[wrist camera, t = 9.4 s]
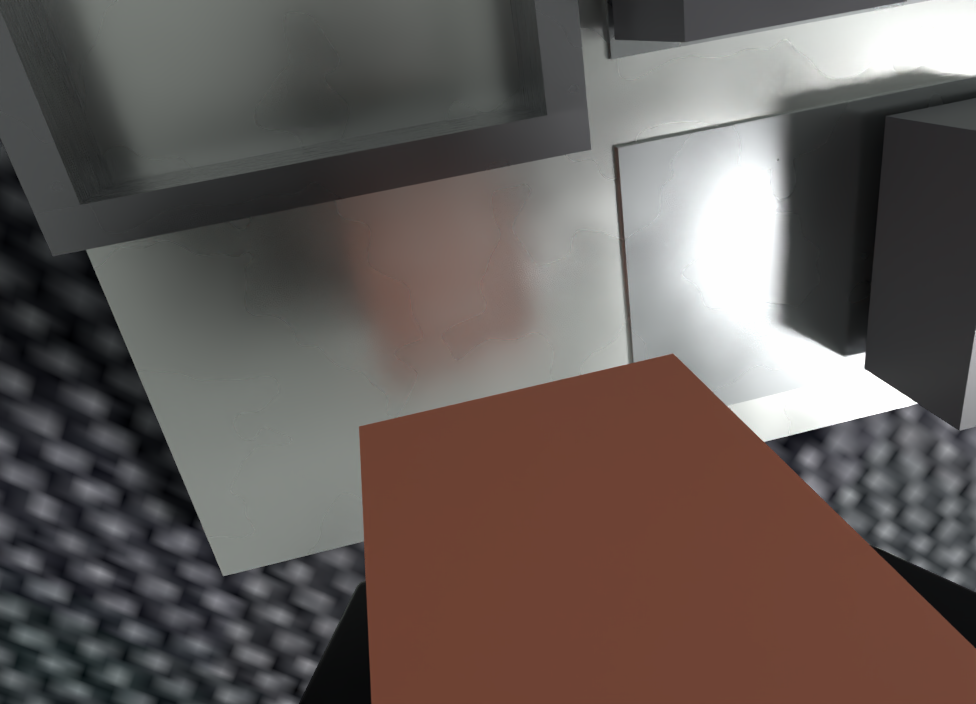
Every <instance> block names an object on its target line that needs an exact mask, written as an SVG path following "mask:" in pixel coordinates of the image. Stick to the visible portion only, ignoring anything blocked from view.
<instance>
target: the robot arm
mask: <svg viewBox="0 0 976 704" xmlns="http://www.w3.org/2000/svg"><path fill="white" fill-rule="evenodd" d="M869 545H870V544H869ZM870 546H871V547H872V548H873V549H874V550H875V551H876V552H877V553H878V554H879V555H880V556H881V557H882V558H883V559H884V560H885V561H886V562H887V563H888V564H890V565H891V566H892V567H893V568H894V569H895V570H896V571H897V572H898V573H899V574H900V575H901V576H902V577H903V578H904V579H905V580H906V581H907V582H908V583H909V584H910V585H911V586H912V587H913V588H914V589H915V590H916V591H917V592H918V593H919V594H920V595H921V596H922V597H923V598H924V599H925V600H926V601H927V602H928V603H930V604H931V605H932V606H933V607H934V608H935V609H936V610H937V611H938V612H939V613H940V614H941V615H942V616H943V617H944V618H945V619H946V620H947V621H948V622H949V623H950V624H951V625H952V626H953V627H954V628H955V629H956V630H957V631H958V632H959V633H960V634H961V635H962V636H963V637H964V638H965V639H966V640H967V641H968V642H969V643H971V644H972V645H973V646H974V647H975V648H976V592H974V591H972V590H969V589H967V588H965V587H963V586H961V585H958V584H956V583H954V582H952V581H950V580H947V579H945V578H943V577H941V576H939V575H936V574H934V573H932V572H930V571H928V570H925V569H923V568H921V567H919V566H917V565H914V564H912V563H910V562H908V561H906V560H903V559H901V558H899V557H897V556H895V555H892V554H890V553H888V552H886V551H884V550H881V549H879V548H877V547H875V546H873V545H870ZM299 704H371V682H370V660H369V638H368V616H367V594H366V581H363V582H361V583H360V584H359V585H358V586H357V588H356V590H355V592H354V594H353V596H352V598H351V600H350V602H349V604H348V606H347V608H346V610H345V612H344V614H343V616H342V618H341V620H340V622H339V624H338V626H337V628H336V630H335V632H334V634H333V636H332V638H331V640H330V642H329V644H328V646H327V648H326V650H325V652H324V654H323V656H322V658H321V660H320V662H319V664H318V666H317V668H316V670H315V672H314V674H313V676H312V678H311V680H310V682H309V684H308V686H307V688H306V690H305V692H304V694H303V697H302V699H301V701H300V703H299Z"/></svg>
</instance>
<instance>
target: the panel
mask: <svg viewBox="0 0 976 704" xmlns="http://www.w3.org/2000/svg"><path fill="white" fill-rule="evenodd" d="M973 98H976V0H907V2H901V3H896V4H890V5H885V6H880V7H874V8H869V9H863V10H858V11H852V12H847V13H842V14H836V15H831V16H825V17H820V18H815V19H809V20H804V21H798V22H793V23H788V24H782V25H777V26H771V27H766V28H760V29H755V30H750V31H744V32H739V33H733V34H728V35H723V36H717V37H712V38H706V39H701V40H696V41H690V42H660V41H633V40H615V34H614V20H613V6H612V0H0V139H1V141H2V143H3V145H4V148H5V150H6V152H7V154H8V157H9V159H10V161H11V163H12V166H13V168H14V170H15V172H16V175H17V177H18V179H19V181H20V184H21V186H22V188H23V190H24V193H25V195H26V197H27V199H28V202H29V204H30V206H31V208H32V211H33V213H34V215H35V217H36V220H37V222H38V224H39V226H40V229H41V231H42V233H43V235H44V238H45V240H46V242H47V244H48V247H49V249H50V251H51V253H52V256H57V255H62V254H68V253H73V252H78V251H83V250H86V251H87V254H88V256H89V258H90V261H91V263H92V265H93V268H94V270H95V273H96V275H97V277H98V280H99V282H100V284H101V287H102V289H103V292H104V294H105V296H106V299H107V301H108V303H109V306H110V308H111V311H112V313H113V315H114V318H115V320H116V322H117V325H118V327H119V330H120V332H121V334H122V337H123V339H124V341H125V344H126V346H127V349H128V351H129V353H130V356H131V358H132V360H133V363H134V365H135V368H136V370H137V372H138V375H139V377H140V379H141V382H142V384H143V386H144V389H145V391H146V394H147V396H148V398H149V401H150V403H151V405H152V408H153V410H154V413H155V415H156V417H157V420H158V422H159V424H160V427H161V429H162V432H163V434H164V436H165V439H166V441H167V443H168V446H169V448H170V451H171V453H172V455H173V458H174V460H175V462H176V465H177V467H178V470H179V472H180V474H181V477H182V479H183V481H184V484H185V486H186V489H187V491H188V493H189V496H190V498H191V500H192V503H193V505H194V508H195V510H196V512H197V515H198V517H199V519H200V522H201V524H202V527H203V529H204V531H205V534H206V536H207V538H208V541H209V543H210V546H211V548H212V550H213V553H214V555H215V557H216V560H217V562H218V565H219V567H220V569H221V572H222V574H223V576H226V575H230V574H234V573H238V572H242V571H246V570H250V569H254V568H258V567H262V566H266V565H270V564H274V563H278V562H282V561H286V560H290V559H294V558H298V557H302V556H306V555H310V554H314V553H318V552H322V551H327V550H331V549H335V548H339V547H343V546H347V545H351V544H355V543H359V542H363V541H364V527H363V505H362V483H361V461H360V439H359V426H363V425H367V424H372V423H376V422H380V421H385V420H389V419H393V418H398V417H402V416H406V415H411V414H415V413H419V412H423V411H428V410H432V409H436V408H441V407H445V406H449V405H454V404H458V403H462V402H467V401H471V400H475V399H480V398H484V397H488V396H492V395H497V394H501V393H505V392H510V391H514V390H518V389H523V388H527V387H531V386H536V385H540V384H544V383H548V382H553V381H557V380H561V379H566V378H570V377H574V376H579V375H583V374H587V373H592V372H596V371H600V370H605V369H609V368H613V367H617V366H622V365H626V364H630V363H635V362H639V361H643V360H648V359H652V358H656V357H661V356H665V355H669V354H674V355H675V356H676V357H677V358H678V359H679V360H680V361H681V362H682V363H683V364H684V365H685V366H687V367H688V368H689V369H690V370H691V371H692V372H693V373H694V374H695V375H696V376H697V377H698V378H699V379H700V380H701V381H702V382H703V383H704V384H705V385H706V386H707V387H708V388H709V389H710V390H711V391H712V392H713V393H714V394H715V395H716V396H717V397H718V398H719V399H720V400H721V401H722V402H723V403H724V404H725V405H726V406H728V407H729V408H730V409H731V410H732V411H733V412H734V413H735V414H736V415H737V416H738V417H739V418H740V419H741V420H742V421H743V422H744V423H745V424H746V425H747V426H748V427H749V428H750V429H751V430H752V431H753V432H754V433H755V434H756V435H757V436H758V437H759V438H760V439H761V440H762V441H763V442H765V441H769V440H773V439H777V438H781V437H785V436H789V435H793V434H797V433H801V432H805V431H809V430H813V429H817V428H821V427H825V426H829V425H833V424H838V423H842V422H846V421H850V420H854V419H858V418H862V417H866V416H870V415H874V414H878V413H882V412H886V411H890V410H894V409H898V408H902V407H906V406H910V405H914V404H918V403H916V402H914V401H913V400H911V399H910V398H908V397H907V396H905V395H904V394H902V393H901V392H899V391H897V390H896V389H894V388H893V387H891V386H890V385H888V384H887V383H885V382H884V381H882V380H881V379H879V378H877V377H876V376H874V375H873V374H871V373H870V372H868V371H867V370H865V369H864V363H865V351H866V340H867V328H868V317H869V305H870V294H871V282H872V270H873V259H874V247H875V236H876V224H877V213H878V201H879V189H880V178H881V166H882V155H883V143H884V132H885V120H886V116H889V115H894V114H899V113H904V112H909V111H914V110H919V109H924V108H929V107H934V106H939V105H944V104H949V103H954V102H959V101H963V100H968V99H973Z"/></svg>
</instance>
